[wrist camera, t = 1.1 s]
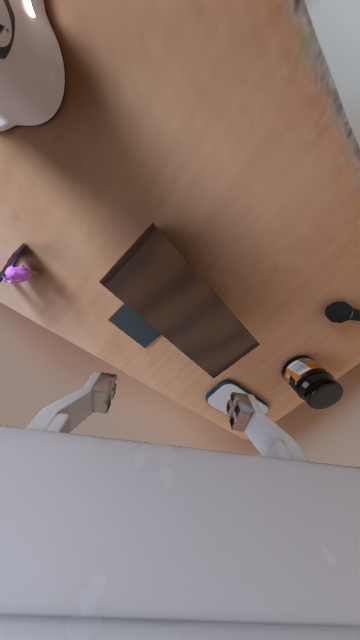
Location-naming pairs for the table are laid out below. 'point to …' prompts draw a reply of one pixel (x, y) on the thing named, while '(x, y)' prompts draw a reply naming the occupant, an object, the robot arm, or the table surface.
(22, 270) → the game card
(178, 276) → the desk shelf
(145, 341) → the mat
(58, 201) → the table surface
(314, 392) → the supplement container
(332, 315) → the microphone
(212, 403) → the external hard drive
